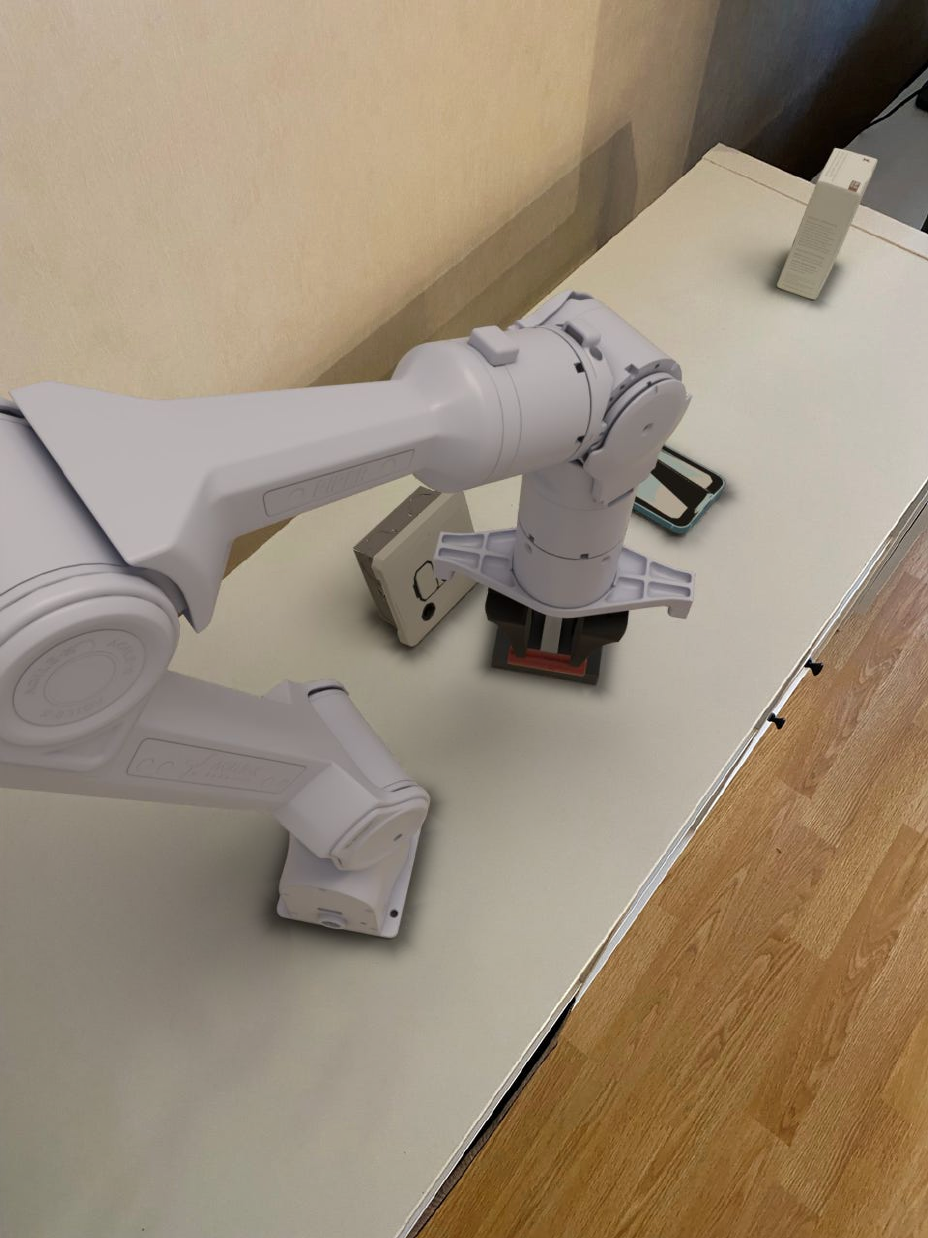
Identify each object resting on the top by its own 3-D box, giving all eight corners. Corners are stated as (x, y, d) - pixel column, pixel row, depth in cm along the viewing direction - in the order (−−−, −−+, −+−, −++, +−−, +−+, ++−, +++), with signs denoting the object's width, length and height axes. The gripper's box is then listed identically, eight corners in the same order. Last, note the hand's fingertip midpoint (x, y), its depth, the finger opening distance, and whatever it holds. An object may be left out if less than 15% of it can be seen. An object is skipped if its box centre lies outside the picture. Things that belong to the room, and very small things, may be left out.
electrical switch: (410, 653, 73) (396, 577, 66) (360, 620, 75) (341, 543, 68) (486, 575, 77) (481, 495, 70) (437, 546, 79) (427, 465, 72)
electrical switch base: (596, 685, 72) (610, 634, 66) (490, 667, 73) (495, 614, 66) (611, 567, 78) (626, 510, 72) (514, 551, 78) (519, 493, 72)
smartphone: (585, 399, 87) (730, 479, 81) (584, 407, 87) (728, 487, 82) (535, 446, 83) (683, 532, 78) (535, 454, 84) (681, 540, 79)
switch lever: (581, 687, 63) (587, 659, 61) (505, 674, 63) (509, 646, 62) (593, 583, 72) (598, 556, 71) (527, 572, 73) (531, 545, 71)
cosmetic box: (792, 254, 99) (832, 142, 89) (835, 268, 98) (880, 156, 88) (774, 289, 96) (813, 177, 86) (817, 303, 95) (862, 192, 85)
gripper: (717, 478, 51) (667, 616, 63) (450, 438, 53) (449, 580, 64) (710, 586, 48) (659, 711, 59) (423, 539, 49) (427, 671, 60)
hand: (549, 649), depth 61 cm, fingers open, 3 cm apart
